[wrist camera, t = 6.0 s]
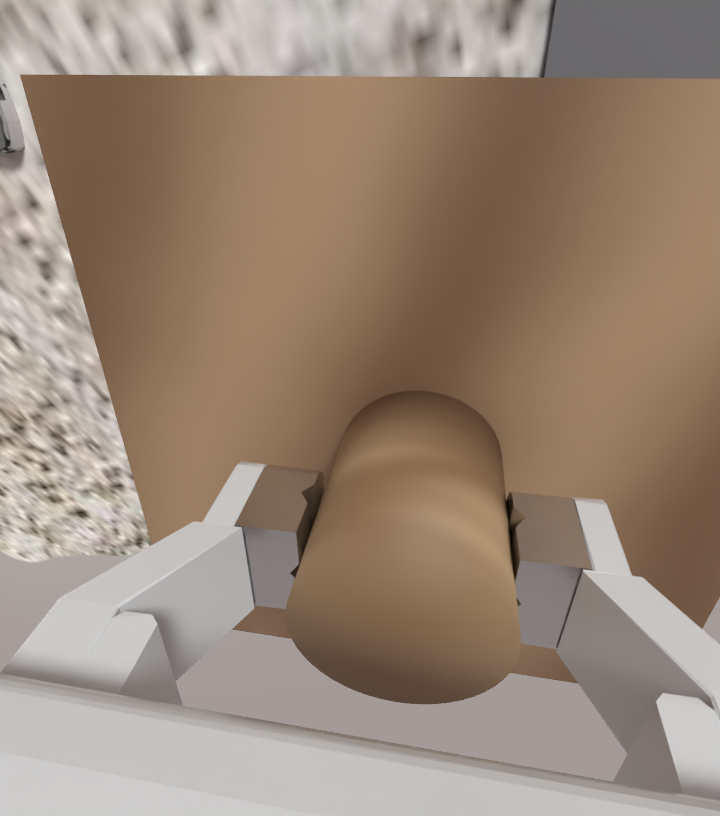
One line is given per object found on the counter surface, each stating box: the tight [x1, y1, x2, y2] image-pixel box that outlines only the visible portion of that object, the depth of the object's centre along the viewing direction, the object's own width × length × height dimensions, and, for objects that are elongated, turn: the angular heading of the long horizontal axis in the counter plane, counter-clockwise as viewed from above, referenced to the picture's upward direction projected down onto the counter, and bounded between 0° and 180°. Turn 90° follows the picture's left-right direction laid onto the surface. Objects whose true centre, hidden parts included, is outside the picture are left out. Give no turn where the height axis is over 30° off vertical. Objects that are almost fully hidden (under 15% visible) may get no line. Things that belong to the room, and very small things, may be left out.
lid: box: [20, 75, 720, 704], centre depth 9 cm, size 13×13×5 cm
